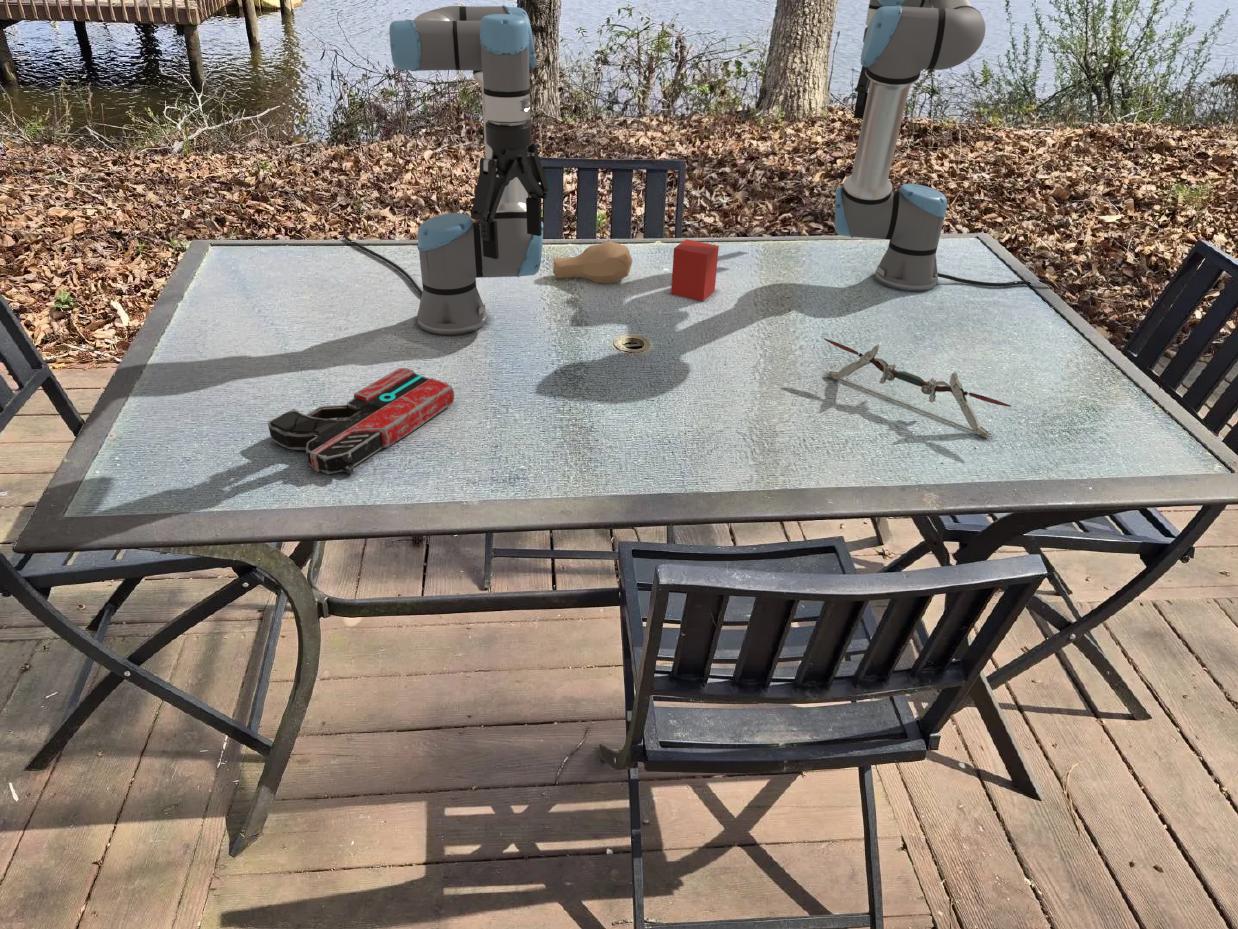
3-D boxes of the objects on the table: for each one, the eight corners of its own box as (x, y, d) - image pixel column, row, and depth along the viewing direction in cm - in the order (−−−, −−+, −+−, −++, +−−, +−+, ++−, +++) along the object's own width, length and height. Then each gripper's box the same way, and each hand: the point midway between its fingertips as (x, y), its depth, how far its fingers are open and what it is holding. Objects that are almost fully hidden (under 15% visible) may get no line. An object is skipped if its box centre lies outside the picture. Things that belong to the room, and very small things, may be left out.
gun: (253, 426, 149) (335, 462, 141) (381, 354, 171) (459, 383, 163) (258, 448, 152) (340, 485, 144) (384, 375, 174) (460, 403, 166)
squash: (634, 287, 216) (630, 255, 210) (554, 294, 218) (548, 263, 212) (634, 264, 224) (630, 232, 218) (556, 271, 226) (551, 240, 220)
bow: (1002, 440, 160) (1018, 392, 155) (998, 443, 159) (1013, 395, 153) (820, 369, 181) (828, 325, 176) (815, 372, 180) (823, 328, 175)
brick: (703, 301, 210) (707, 254, 204) (670, 294, 213) (673, 248, 207) (714, 291, 216) (718, 245, 209) (683, 284, 219) (686, 239, 212)
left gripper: (481, 139, 134) (489, 271, 145) (567, 109, 152) (567, 229, 164) (442, 132, 136) (453, 262, 148) (530, 103, 155) (534, 221, 167)
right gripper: (883, 34, 216) (867, 123, 228) (905, 23, 235) (889, 106, 247) (853, 31, 219) (839, 120, 231) (877, 20, 238) (863, 103, 250)
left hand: (513, 245), depth 156 cm, fingers open, 13 cm apart
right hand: (865, 113), depth 239 cm, fingers open, 13 cm apart
